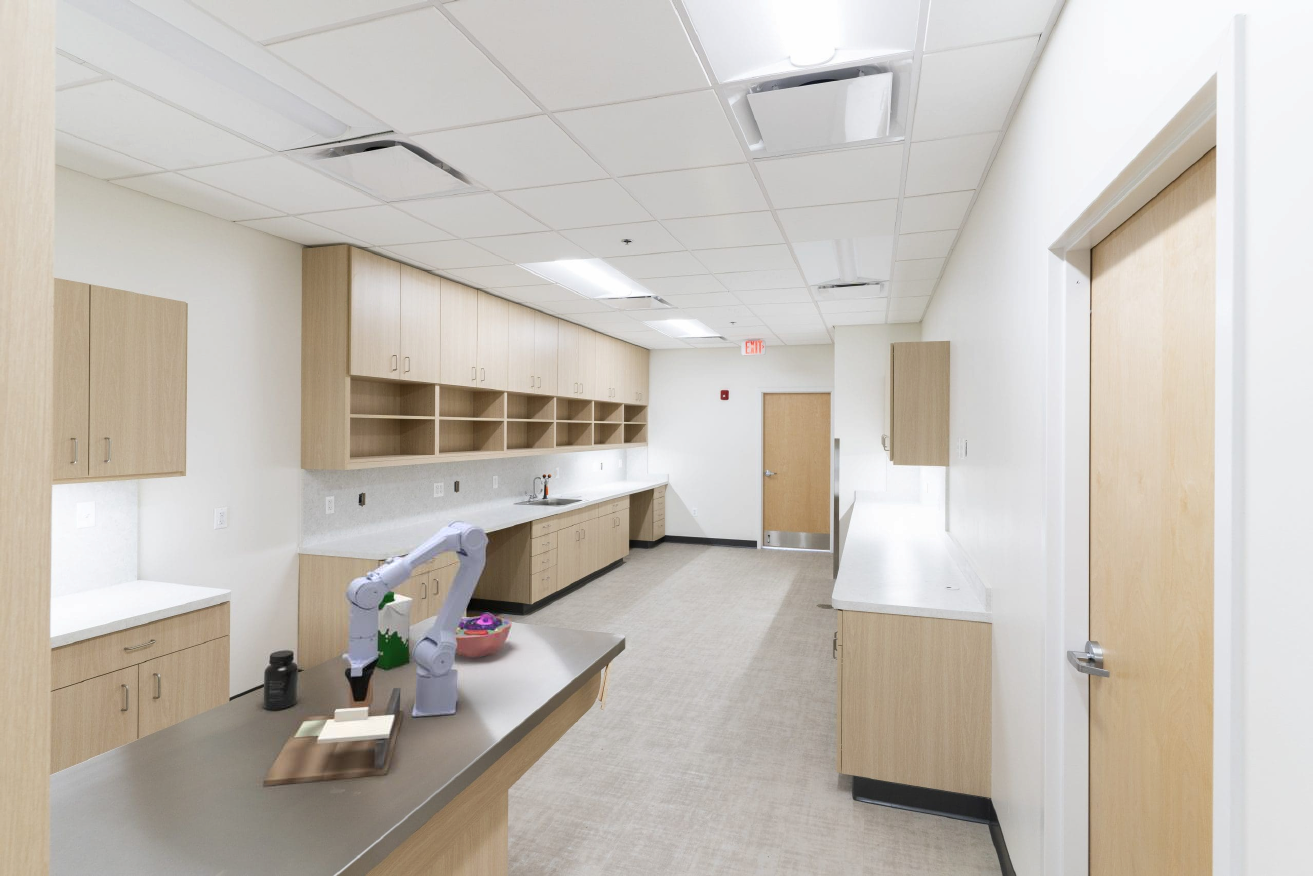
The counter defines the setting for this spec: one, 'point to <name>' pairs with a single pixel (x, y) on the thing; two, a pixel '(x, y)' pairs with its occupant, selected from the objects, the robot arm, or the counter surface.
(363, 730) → the cover
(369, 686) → the block
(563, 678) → the counter surface
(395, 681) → the counter surface
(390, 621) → the milk carton
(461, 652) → the cell model
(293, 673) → the supplement bottle
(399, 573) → the robot arm
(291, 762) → the board
